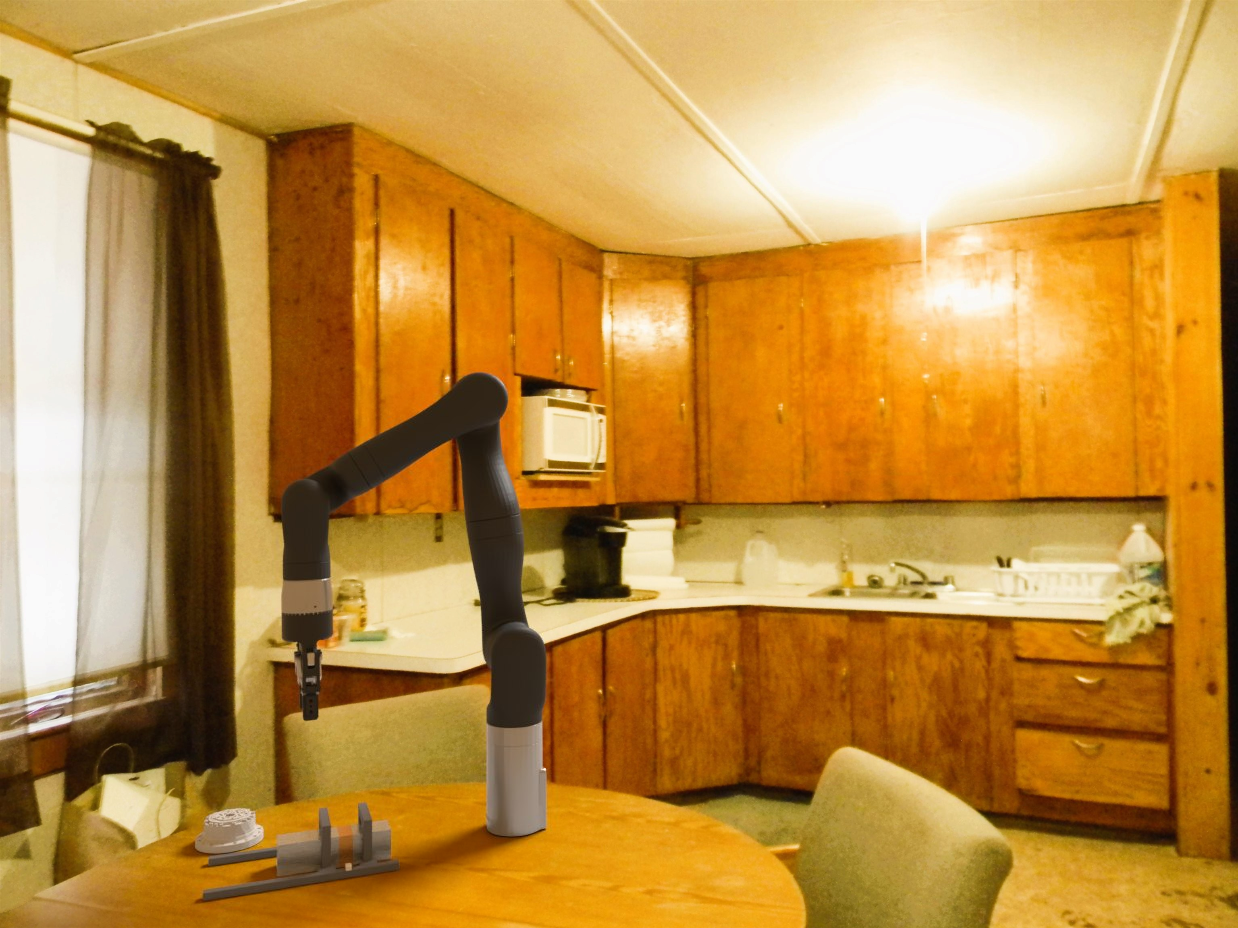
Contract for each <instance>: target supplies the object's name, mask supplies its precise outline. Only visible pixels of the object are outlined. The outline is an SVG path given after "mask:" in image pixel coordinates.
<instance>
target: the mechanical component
mask: <svg viewBox="0 0 1238 928" xmlns="http://www.w3.org/2000/svg"><path fill="white" fill-rule="evenodd" d="M250 809H251V808H244V807H243V808H240V807H237V808H232V809H231V808H230V809H224V810H220V811H217V812H213V813H211V814H208V815H207V816H206V817H205V819H204V821H203V831H202V832H200V833H199V834H197V836H196V837H195V838H194V847H195V850H196V851H198V852H200V853H204V854H215V855H216V854H229V853H235V852H237V851H239V852H240V851H242V850H245V849H248V848H251V847H253V846H255V845H257V844H260V842H261V841H262V840H263V839H264V827H263V826H262V825H260V824H258V823H257V822H256V811H255V810H253V811H252V810H250Z"/></svg>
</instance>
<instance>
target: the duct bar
mask: <svg viewBox="0 0 1238 928" xmlns="http://www.w3.org/2000/svg"><path fill="white" fill-rule="evenodd" d="M276 847H277V856H276V877H278V878H279V877H283V876H284V877H286V876H291V875H299V874H303V873H304V874H305V873H311V872H314V871H315V872H318V868H321V863H322V831H321V829H319V828H318V829H311V830H303V831H297V832H291V833H290V832H289V833H282V834H281V833H280V834H276ZM375 859H376V860H377V862H382V861H387V860H388V861H389V860H391V859H392V828H391V826H390V823H389V820H388V819H383V820H374V821H372V860H375ZM362 861H363V825H362V823H361V824H358V823H353V824H347V825H339V826H333V827H332V826H331V866H335V868H336V869H337V868H344V867H345V864H346V863H351V865H352V866H357V865H359V862H362Z"/></svg>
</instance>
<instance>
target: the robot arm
mask: <svg viewBox="0 0 1238 928" xmlns="http://www.w3.org/2000/svg"><path fill="white" fill-rule="evenodd" d="M508 403H509V395H508V389H507V387H506V386H505V384H504V383H503V381H502V380H501V379H500V378H499V377H497V376H495V375H494V374H492V373H489V372H483V371H482V372H481V371H480V372H479V371H478V372H470V373H468V374H466V375H464V376H462V377H461V378H460V379H459V380H458V381H457V382H456V383H454V385H453V386H452V387H451V389H450V390H448V391H447V392H446V393H445V394H444V395H443V396H441V397H440V398H439V399H438V400H436V401H435V402H433V403H432V404H431V405H429V406H427V407H426V408H424V409H423V410H422V411H420V412H417V414H414V415H413V416H411V417H410V418H408V419H406V420H404V421H402V422H400V423H398V424H397V425H395V426H393V427H390V428H389V429H387V430H385V431H382V432H380V433H378V434H377V435H375V436H373V437H371V438H368V440H366V441H364V442H362V443H360V444H359V445H357V446H355V447H353V448H352V449H350V450H348V451H347V452H345V453H344V454H342V455H340V456H339V457H337V458H336V459H335V460H334V461H333V462H332V463H330V464H328V465H327V466H325V467H323V468H321V469H319V470H317V471H316V472H313V473H312V474H310V475H308V476H306V477H304V478H302V479H298V480H295V481H294V482H291V483H290V484H289V485H288V486H287V487H286V488H285V489H284V491H283V493H282V495H281V500H280V513H281V525H282V528H281V529H282V537H283V538H282V540H283V551H282V588H281V593H280V594H281V597H280V600H281V601H280V602H281V605H280V606H281V607H280V608H281V609H280V610H281V612H280V613H281V638H282V640H283V641H284V642H285V643H287V642H288V643H296V644H295V645H296V650H293V662H294V671H295V675H296V677H297V679H296V682H297V684H298V685H299V686H298V695H299V696H298V697H299V698H298V699H299V701H298V702H299V709H300V710H302V719H303V721H304V722H308V721H316V720H318V719H319V717H320V716H319V714H320V713H319V695H320V693H321V690H322V685H321V680H322V677H323V675H322V674H323V672H322V671H323V670H322V663H323V652H322V650H321V649H320V648H318V645H317V643H318V642H319V641H325V640H328V639H331V638H332V637H333V635H334V607H333V606H334V605H333V604H334V603H333V601H334V599H333V598H334V597H333V596H334V595H333V586H332V581H331V580H332V578H331V577H332V576H331V575H332V573H331V572H332V571H331V551H330V546H329V534H330V533H329V531H330V529H329V528H330V514H332V513H333V512H334V511H336V510H337V509H339V508H341V507H342V506H343V505H345V504H346V503H348V502H350V501H351V500H352V499H355V498H356V497H359V496H362V495H363V494H366V493H367V492H369V491H370V492H371V490H373V489H375V488H376V487H378V486H380V485H381V484H383V483H384V482H386V481H388V480H390V479H391V478H393V477H395V476H396V475H398V474H399V473H401V472H403V471H404V470H405V469H407V468H408V467H410V466H411V465H412V464H414V463H416V462H417V461H418V460H420V459H421V458H423V457H424V456H426V455H427V454H429V453H431V452H433V451H434V450H435V449H438V447H440V446H442V445H444V444H446V443H448V442H450V441H452V440H454V439H455V441H456V446H457V450H458V454H459V460H460V470H461V486H462V489H461V490H462V497H463V498H462V499H463V508H464V511H463V512H464V519H465V520H464V521H465V528H466V533H467V534H466V535H467V542H468V547H469V551H470V557H471V563H472V567H473V573H474V577H475V582H476V585H477V590H478V597H479V604H480V617H481V618H480V621H481V644H482V645H481V649H482V655H483V659H484V660H483V661H485V664H486V665H487V667H488V668H489V669H490V697H489V703H488V704H487V705H486V714H485V715H486V717H485V718H486V720H485V721H486V725H485V726H486V814H485V815H486V817H485V818H486V830H487V832H489V833H491V834H493V835H496V836H501V837H520V836H527V835H531V834H533V833H536V832H538V831H540V830H543V829H547V828H548V827H547V824H548V823H547V822H548V820H547V813H548V812H547V809H548V808H547V803H548V802H547V768H545V767H544V766H543V710H544V706H545V703H546V698H547V697H546V696H547V651H546V650H547V649H546V646H545V642H544V639H543V638H542V637H541V635H540V634H539V633H538V631H535V630H534V629H533V628H531V627H530V625H529V623H528V617H527V614H526V610H525V606H524V605H525V604H524V600H523V593H522V592H523V591H522V580H523V579H522V576H523V570H524V569H523V568H524V556H525V539H524V529H523V522H522V516H521V508H520V504H519V499H518V497H517V494H516V490H515V486H514V484H513V482H512V479H511V476H510V473H509V471H508V468H507V465H506V461H505V458H504V454H503V449H502V448H503V446H502V437H501V436H502V435H501V419H502V418H503V417H504V415H505V413H506V412H507V408H508V406H509V405H508Z"/></svg>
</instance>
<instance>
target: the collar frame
mask: <svg viewBox="0 0 1238 928" xmlns="http://www.w3.org/2000/svg"><path fill="white" fill-rule="evenodd" d="M368 806H369V805H368V804H367V802H366V801H364V802H358V803H357V810H358V811H357V824H361V823H362V825H363V861H362V862H359V864H358V865H351V863H346V864H345V866H344V867H340V868H337V867H336V868H335V866H331V828H332V825H331V819H330V814H329V809H328V807H320V808H318V829H321V831H322V863H321V868H318V870H317V871H315V872H308V873H304V874H303V873H302V874H295V875H292V876H291V875H289V876H284V877H283V876H282V877H278V878H272V879H265V880H259V881H252V882H245V883H240V884H233V885H227V886H222V887H214V888H207V889H203V890H202V902H204V901H205V902H206V901H212V900H217V899H218V900H219V899H226V898H230V897H236V896H237V897H238V896H245V895H251V894H256V893H262V892H268V891H269V892H270V891H274V890H275V891H276V890H280V889H286V888H287V889H289V888H293V887H299V886H306V885H312V884H317V883H318V884H319V883H323V882H325V883H326V882H329V881H337V880H342V879H343V880H344V879H348V878H354V877H361V876H369V875H374V874H380V873H385V872H393V871H398V870H399V871H400V861H399V859H393V860H388V861H387V860H385V861H379V862H378V861H377V860H376V859H375V860H372V822H373V818H372V815H371V813H370V810H369V807H368ZM273 857H277V846H273V847H272V846H271V847H266V848H259V849H252V850H244V851H239V852H237V851H236V852H229V853H222V854H217V855H216V854H215V855H209V856H208V861H207V862H208V867H214V866H220V865H228V864H233V863H235V864H236V863H240V862H241V863H242V862H246V861H253V860H260V859H268V858H273Z"/></svg>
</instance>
